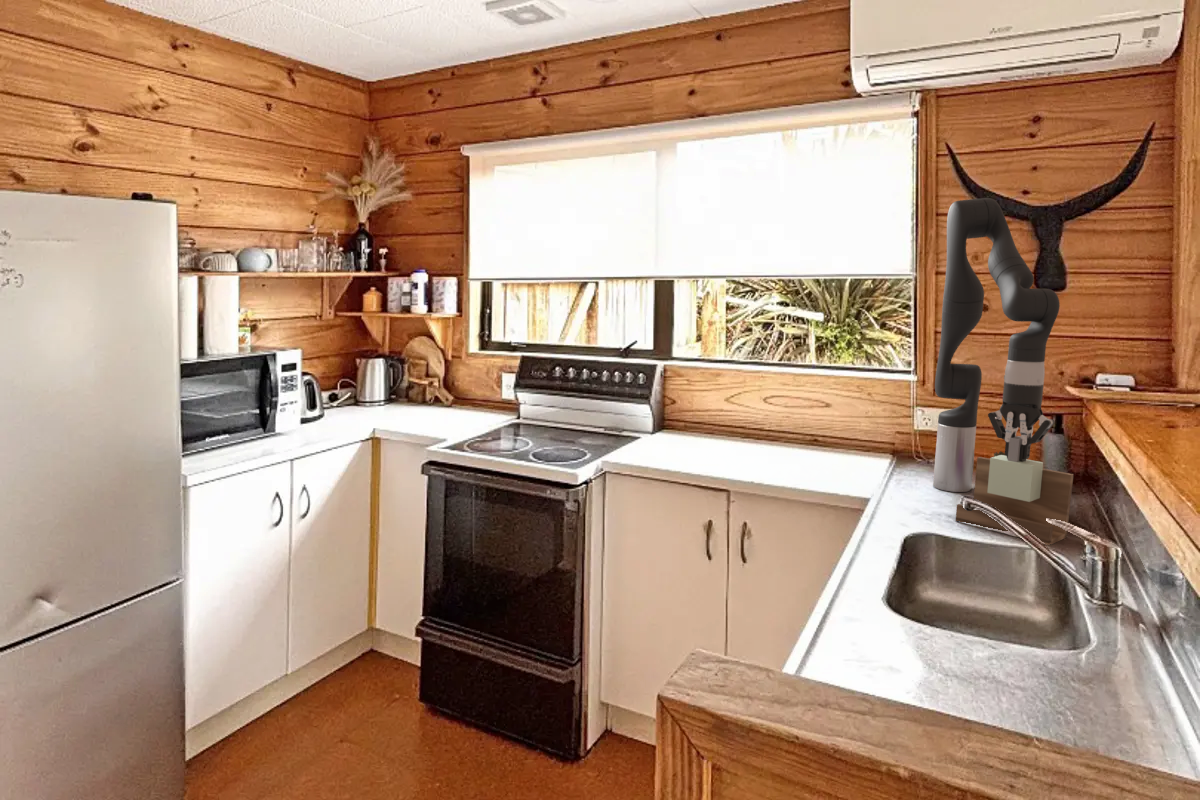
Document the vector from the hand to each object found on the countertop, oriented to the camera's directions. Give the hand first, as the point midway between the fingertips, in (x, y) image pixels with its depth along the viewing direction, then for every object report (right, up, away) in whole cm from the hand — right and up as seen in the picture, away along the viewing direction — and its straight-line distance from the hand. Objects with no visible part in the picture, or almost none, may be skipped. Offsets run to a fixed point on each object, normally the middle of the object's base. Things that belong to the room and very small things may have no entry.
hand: (1016, 459), depth 168 cm
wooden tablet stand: (0, -16, +2) cm, 16 cm away
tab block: (0, -8, +1) cm, 8 cm away
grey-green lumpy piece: (+20, -10, +42) cm, 48 cm away
